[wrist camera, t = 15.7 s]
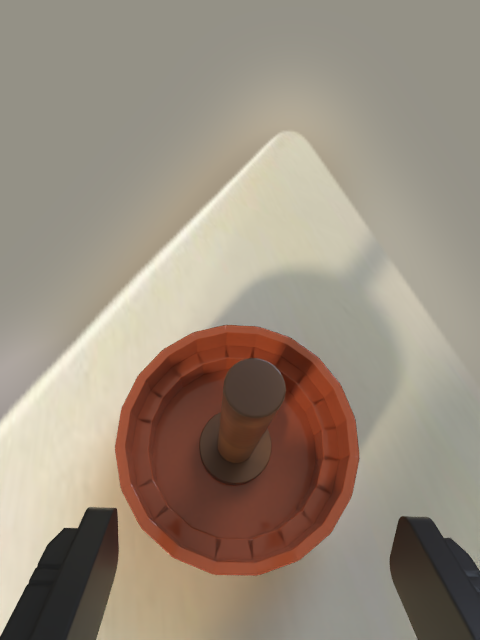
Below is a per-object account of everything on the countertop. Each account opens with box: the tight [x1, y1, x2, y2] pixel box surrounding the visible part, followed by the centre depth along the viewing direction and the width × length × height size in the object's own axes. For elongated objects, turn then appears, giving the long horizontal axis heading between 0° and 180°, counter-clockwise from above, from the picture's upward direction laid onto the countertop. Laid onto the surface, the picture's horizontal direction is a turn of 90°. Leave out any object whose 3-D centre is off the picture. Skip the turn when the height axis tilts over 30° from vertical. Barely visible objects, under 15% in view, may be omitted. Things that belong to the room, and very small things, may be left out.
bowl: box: [115, 325, 359, 576], centre depth 25 cm, size 14×14×5 cm
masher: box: [199, 358, 286, 485], centre depth 21 cm, size 5×5×14 cm
